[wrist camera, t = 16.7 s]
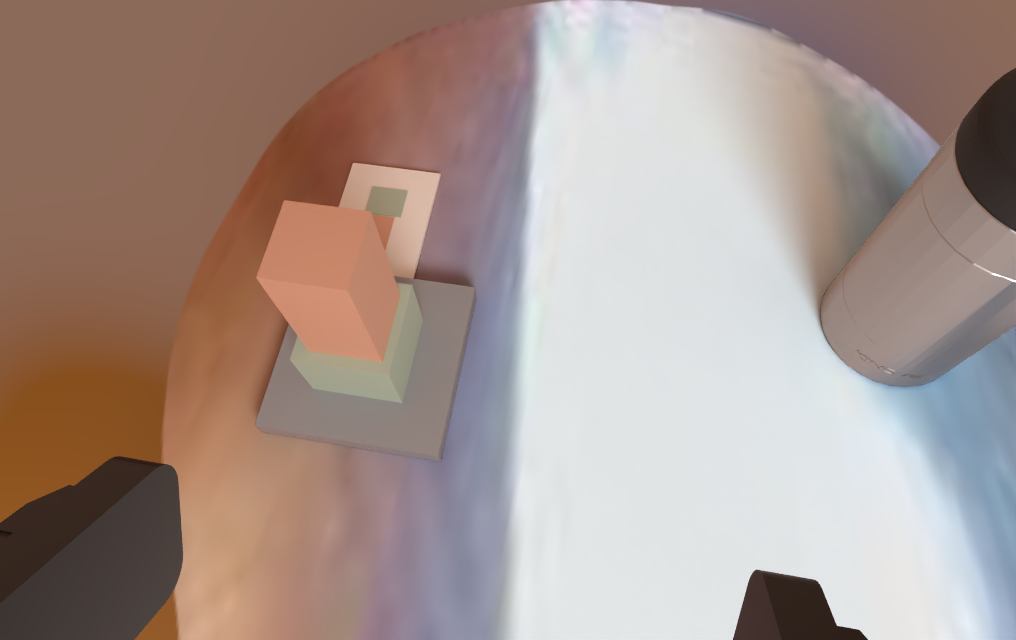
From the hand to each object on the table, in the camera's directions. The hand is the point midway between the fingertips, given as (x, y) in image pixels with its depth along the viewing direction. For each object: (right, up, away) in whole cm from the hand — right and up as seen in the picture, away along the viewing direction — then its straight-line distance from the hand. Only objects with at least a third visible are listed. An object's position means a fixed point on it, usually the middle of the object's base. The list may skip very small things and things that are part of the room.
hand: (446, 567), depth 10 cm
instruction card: (-9, +11, +44) cm, 46 cm away
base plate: (-8, 0, +39) cm, 40 cm away
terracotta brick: (-8, +3, +33) cm, 34 cm away
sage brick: (-8, +1, +38) cm, 38 cm away
